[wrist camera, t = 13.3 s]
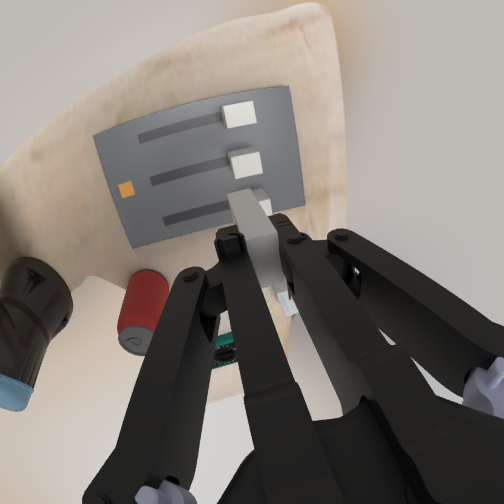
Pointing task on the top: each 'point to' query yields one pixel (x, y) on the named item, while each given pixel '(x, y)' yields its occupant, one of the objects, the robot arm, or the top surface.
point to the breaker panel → (200, 163)
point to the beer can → (141, 311)
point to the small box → (285, 299)
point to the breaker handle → (245, 162)
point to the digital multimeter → (224, 351)
